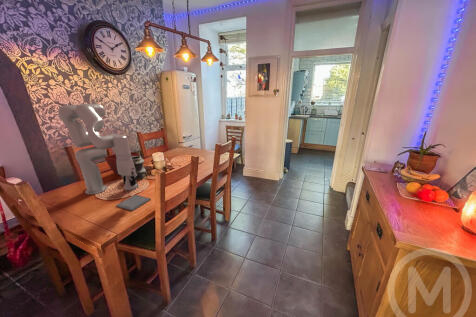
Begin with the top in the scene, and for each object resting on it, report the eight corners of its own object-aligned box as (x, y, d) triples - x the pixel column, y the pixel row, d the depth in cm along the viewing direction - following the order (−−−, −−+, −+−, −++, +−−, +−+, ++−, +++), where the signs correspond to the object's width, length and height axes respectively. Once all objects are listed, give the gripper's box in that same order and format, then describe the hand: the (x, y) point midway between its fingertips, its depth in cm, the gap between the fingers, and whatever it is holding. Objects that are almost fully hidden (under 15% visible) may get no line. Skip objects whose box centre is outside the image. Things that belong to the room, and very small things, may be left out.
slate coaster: (116, 206, 112) (115, 205, 112) (135, 195, 125) (135, 194, 124) (132, 211, 107) (132, 210, 107) (150, 199, 120) (150, 198, 119)
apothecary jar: (145, 179, 149) (141, 159, 143) (128, 181, 146) (124, 160, 140) (148, 173, 160) (144, 154, 154) (133, 175, 157) (129, 155, 151)
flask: (127, 185, 116) (124, 170, 112) (139, 184, 116) (136, 170, 113) (121, 190, 109) (118, 175, 105) (134, 190, 109) (130, 175, 106)
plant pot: (108, 175, 157) (103, 156, 152) (128, 167, 174) (125, 151, 168) (123, 178, 150) (119, 159, 145) (142, 170, 167) (139, 153, 161)
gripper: (107, 156, 105) (114, 184, 111) (128, 160, 100) (134, 189, 105) (119, 153, 112) (125, 179, 118) (140, 156, 106) (145, 184, 112)
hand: (130, 184), depth 112 cm, fingers closed on flask, 5 cm apart
